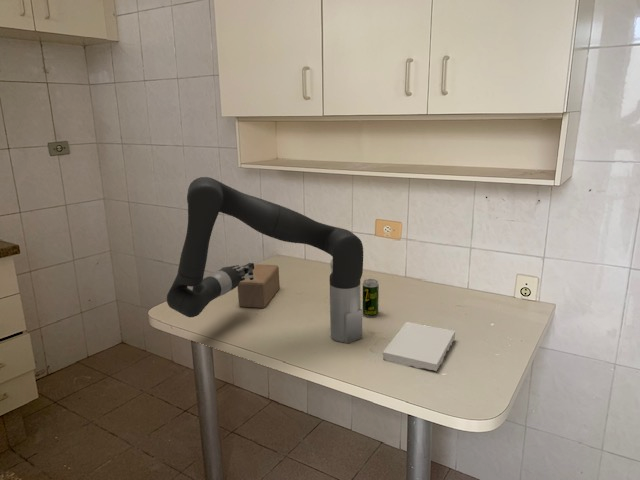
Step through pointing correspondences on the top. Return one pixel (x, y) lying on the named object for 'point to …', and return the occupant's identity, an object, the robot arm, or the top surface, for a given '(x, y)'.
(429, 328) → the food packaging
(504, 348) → the top surface
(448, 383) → the top surface
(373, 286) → the beer can
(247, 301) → the wooden block
